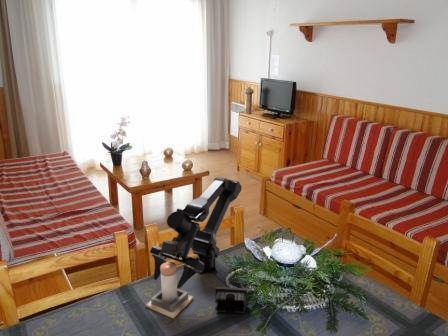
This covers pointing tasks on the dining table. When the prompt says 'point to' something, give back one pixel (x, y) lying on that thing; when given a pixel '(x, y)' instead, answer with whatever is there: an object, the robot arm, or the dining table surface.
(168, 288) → the white bottle
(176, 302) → the socket plate
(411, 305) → the dining table surface
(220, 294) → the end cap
